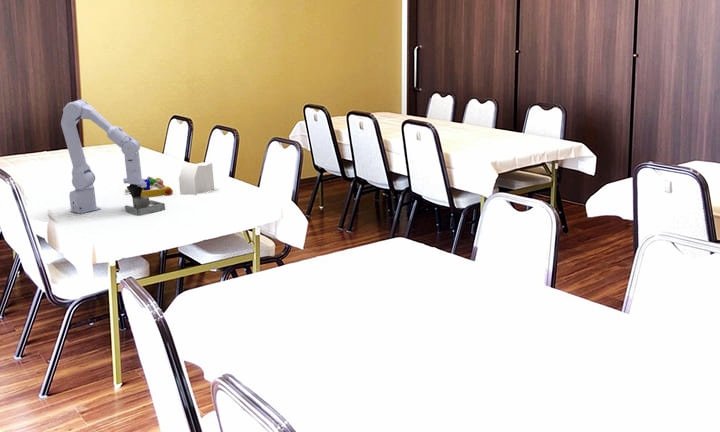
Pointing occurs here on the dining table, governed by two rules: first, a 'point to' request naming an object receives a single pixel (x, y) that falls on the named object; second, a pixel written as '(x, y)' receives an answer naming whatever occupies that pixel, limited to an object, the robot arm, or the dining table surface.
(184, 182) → the white block
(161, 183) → the multicolour toy assembly
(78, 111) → the robot arm
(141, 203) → the dice cube
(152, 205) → the bar
